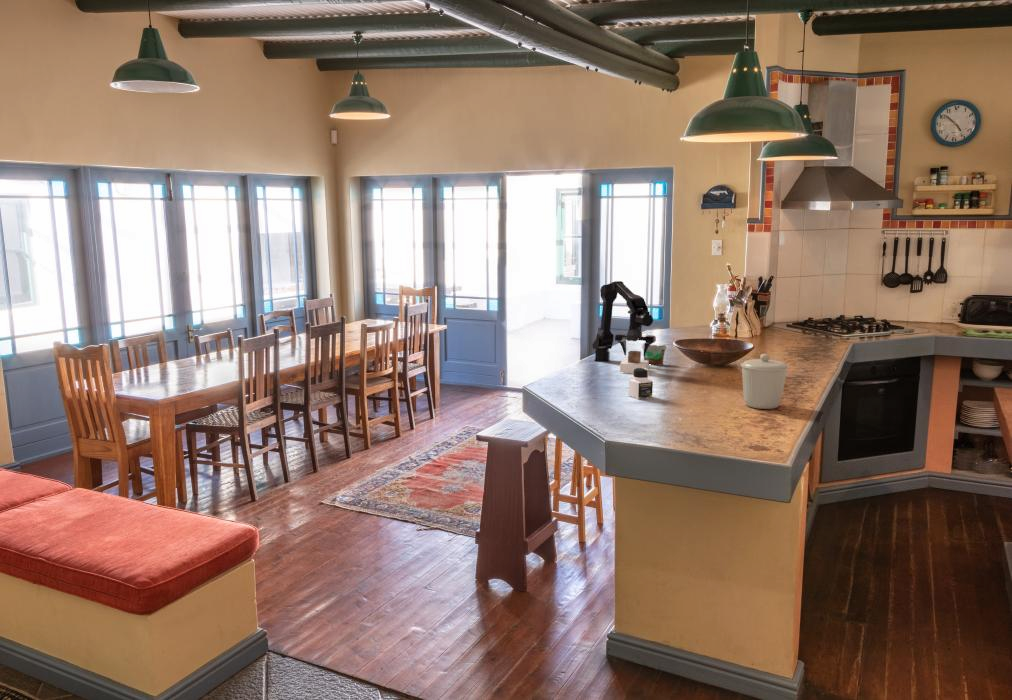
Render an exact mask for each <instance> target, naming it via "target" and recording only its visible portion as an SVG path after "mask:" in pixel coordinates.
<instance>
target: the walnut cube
mask: <svg viewBox="0 0 1012 700" xmlns="http://www.w3.org/2000/svg"><path fill="white" fill-rule="evenodd" d="M627 353H628V354H627V355H628V356H627V359H628V363H639V362H640V361H641V360H642V359H641V355H642V351H641V350H629V351H628V352H627Z"/></svg>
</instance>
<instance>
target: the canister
mask: <svg viewBox="0 0 1012 700" xmlns="http://www.w3.org/2000/svg"><path fill="white" fill-rule="evenodd" d="M740 367H741V375H742V377H741V378H742V391H743V399H744V403H745V405H747V406H748V407H750V408H754V409H758V410H773V409H776V408H778V407H779V406H780V405H781V402H782V399H783V398H782V397H783V394H784V393H783V392H784V389H785V388H784V387H785V383H786V378H787V377H786V376H787V371H788V370H789V368H790V367H789V365H786V363H785V362H783V361H778V360H773V359H770V355H769V354H767V353H762V354H760V356H759V358H754V359H752V358H751V359H748V360H747V359H746V360H745V361H743V362H741V363H740Z"/></svg>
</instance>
